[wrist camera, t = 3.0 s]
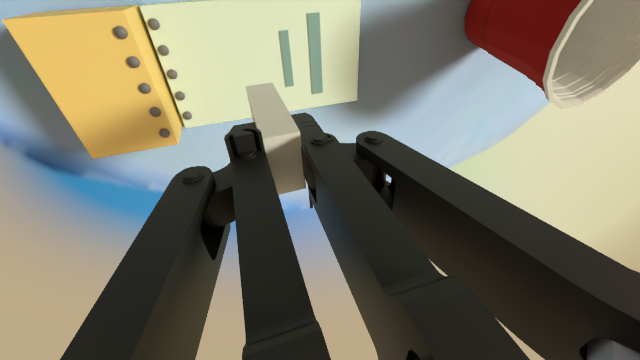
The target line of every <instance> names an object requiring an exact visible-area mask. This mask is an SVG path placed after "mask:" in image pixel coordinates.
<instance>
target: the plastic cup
mask: <svg viewBox="0 0 640 360" xmlns="http://www.w3.org/2000/svg"><path fill="white" fill-rule="evenodd" d="M465 32H466V34H467V36H468V39H469V40H471V42H472V43H474V44H475V45H477V46H478V47H480V48H482V49H484V50H486V51H487V52H488V53H489V54H491V55H493V56H494V57H496V58H497V59H499V60H501V61H502V62H504V63H506V64H507V65H509V66H511V67H512V68H514V69H516V70H517V71H519V72H521V73H522V74H524V75H526V76H527V78H529V79H531V80H532V81H534V82H535V83H536V85H537V86H539V87H540V88H542V90H543V91H544V93H545V96H546V98H547V99H548V100H549V101H550V102H551V103H553V104H555V105H556V106H558V107H559V108H568V107H574V106H580V105H582V104H584V103H586V102H588V101H590V100H592V99H594V98H595V97H597V96H599V95H601V94H603V93H604V92H605V91H607V90H608V89H609V88H611V87H612V86H613V85H614V84H615V83H617V82H618V81H619V80H621V79H622V78H624V77H625V76H626V75H627V74H629V72H630V71H631V70H632V69H633V68H634V67H635V66H636V65H637V64H638V63H639V62H640V0H472V1H471V3H470V5H469V7H468V11H467V14H466V17H465Z"/></svg>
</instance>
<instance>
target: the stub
mask: <svg viewBox="0 0 640 360" xmlns="http://www.w3.org/2000/svg"><path fill="white" fill-rule="evenodd" d="M2 21H3V22H4V24H5V25H6V27H7V29H8V30H9V32H10V33H11V35H12V36H13V38H14V39H15V41H16V42H17V44H18V45H19V47H20V48H21V50H22V51H23V53H24V55H25V56H26V58H27V59H28V61H29V62H30V64H31V65H32V67H33V68H34V70H35V71H36V73H37V74H38V76H39V77H40V79H41V81H42V82H43V84H44V85H45V87H46V88H47V90H48V91H49V93H50V94H51V96H52V97H53V99H54V100H55V102H56V103H57V105H58V107H59V108H60V110H61V111H62V113H63V114H64V116H65V117H66V119H67V120H68V122H69V123H70V125H71V126H72V128H73V129H74V131H75V132H76V134H77V136H78V137H79V139H80V140H81V142H82V143H83V145H84V146H85V148H86V149H87V151H88V152H89V154H90V155H91V157H92V158H93V159H94V158H100V157H106V156H112V155H117V154H123V153H129V152H135V151H141V150H146V149H152V148H158V147H164V146H170V145H175V144H178V143H179V139H180V135H181V130H182V126H183V121H182V118H181V116H180V113H179V111H178V108H177V105H176V103H175V100H174V97H173V95H172V92H171V89H170V87H169V84H168V82H167V79H166V76H165V74H164V71H163V68H162V66H161V63H160V61H159V58H158V55H157V53H156V50H155V47H154V45H153V42H152V39H151V37H150V34H149V32H148V29H147V26H146V24H145V21H144V18H143V16H142V13H141V10H140V8H139V5H129V6H115V7H102V8H89V9H75V10H62V11H48V12H37V13H32V14H28V15H23V16H18V17H13V18H8V19H3V20H2Z"/></svg>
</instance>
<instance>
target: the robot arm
mask: <svg viewBox="0 0 640 360" xmlns="http://www.w3.org/2000/svg"><path fill="white" fill-rule="evenodd" d="M245 87H246V91H247V96H248V101H249V105H250V110H251V115H252V119H253V122H252V123H247V124H241V125H235V126H233V127H232V129H231V130H230V132H229V133H228V134H227V135H225V138H224V140H225V143H226V147H227V150H228V153H229V157H230V163H229V164H228V165H227V166H226V167H224V168H222V169H220V170H218V171H216V172H213V173H212V171H211V170H210V169H209V168H207V167H204V166H196V167H190V168H188V169H184V170H183V171H181V172H179V173H178V174H176V175H175V176H174V178H173V179H172V180H171V182H170V184H169V185H168V187H167V188H166V190H165V192H164V193H163V195H162V196H161V198H160V200H159V201H158V203H157V205H156V206H155V208H154V209H153V211H152V213H151V214H150V216H149V217H148V219H147V221H146V222H145V224H144V225H143V227H142V229H141V230H140V232H139V233H138V235H137V237H136V238H135V240H134V242H133V243H132V245H131V246H130V248H129V250H128V251H127V253H126V255H125V256H124V258H123V259H122V261H121V263H120V264H119V266H118V267H117V269H116V271H115V272H114V274H113V276H112V277H111V279H110V280H109V282H108V283H107V285H106V287H105V288H104V290H103V291H102V293H101V295H100V296H99V298H98V300H97V301H96V303H95V304H94V306H93V308H92V309H91V311H90V312H89V314H88V316H87V317H86V319H85V321H84V322H83V324H82V326H81V327H80V329H79V330H78V332H77V333H76V335H75V337H74V338H73V340H72V341H71V343H70V345H69V346H68V348H67V349H66V351H65V353H64V354H63V356H62V358H61V359H60V360H195V357H196V354H197V351H198V347H199V343H200V339H201V336H202V332H203V328H204V325H205V321H206V317H207V313H208V310H209V306H210V302H211V298H212V295H213V291H214V287H215V284H216V280H217V276H218V273H219V269H220V265H221V262H222V258H223V254H224V250H225V247H226V243H227V239H228V235H229V232H230V223H231V222H233V221H235V220H236V231H237V242H238V254H239V265H240V275H241V287H242V298H243V309H244V320H245V332H246V344H245V346H244V348H243V353H242V360H331V359H330V356H329V352H328V349H327V346H326V343H325V340H324V336H323V333H322V330H321V328H320V325H319V323H318V321H317V320H316V318H315V315H314V312H313V309H312V306H311V303H310V299H309V296H308V293H307V289H306V286H305V283H304V279H303V276H302V273H301V269H300V266H299V263H298V260H297V256H296V252H295V249H294V246H293V243H292V239H291V236H290V233H289V229H288V226H287V222H286V219H285V216H284V212H283V209H282V206H281V202H280V199H279V196H278V195H279V194H283V193H287V192H291V191H296V190H300V189H304V188H306V182H307V184H308V190H309V200H310V208H313V205H314V208H315V210H316V212H317V214H318V217H319V219H320V221H321V223H322V226H323V228H324V230H325V232H326V235H327V237H328V240H329V242H330V244H331V247H332V249H333V251H334V254H335V256H336V258H337V260H338V263H339V265H340V267H341V270H342V272H343V274H344V277H345V279H346V281H347V283H348V285H349V288H350V290H351V293H352V295H353V297H354V300H355V302H356V304H357V306H358V309H359V311H360V313H361V316H362V318H363V320H364V323H365V325H366V327H367V330H368V332H369V334H370V336H371V338H372V341H373V343H374V346H375V348H376V351H377V355H378V359H379V360H530V359H529V358H528V357H527V356H526V355H525V353H524V352H523V351H522V350H521V349H520V347H519V346H518V345H517V344H516V343H515V341H514V340H513V339H512V338H511V337H510V335H509V334H508V333H507V332H506V331H505V329H504V328H503V327H502V326H501V324H500V323H499V322H498V321H497V320H496V319H498V320H499V321H500V322H501V323H502V324H503V325H504V326H505V327H507V328H508V329H509V330H510V331H511V332H512V333H514V334H515V335H516V336H517V337H518V338H519V339H520V340H522V341H523V342H524V343H525V344H527V345H528V346H529V347H530V348H531V349H533V350H534V351H535V352H536V353H537V354H539V355H540V356H541V357H543V358H544V359H545V360H640V273H639V272H636V271H633V270H631V269H629V268H627V267H625V266H624V265H621V264H620V263H618V262H616V261H614V260H613V259H611V258H609V257H607V256H605V255H604V254H602V253H600V252H598V251H596V250H595V249H593V248H591V247H589V246H587V245H586V244H584V243H582V242H580V241H578V240H576V239H575V238H573V237H571V236H569V235H567V234H566V233H564V232H562V231H560V230H558V229H556V228H555V227H553V226H551V225H549V224H547V223H546V222H544V221H542V220H540V219H538V218H537V217H535V216H533V215H531V214H529V213H528V212H526V211H524V210H522V209H520V208H518V207H517V206H515V205H513V204H511V203H509V202H508V201H506V200H504V199H502V198H500V197H499V196H497V195H495V194H493V193H491V192H489V191H488V190H486V189H484V188H482V187H481V186H479V185H477V184H475V183H473V182H471V181H470V180H468V179H466V178H464V177H462V176H461V175H459V174H457V173H455V172H453V171H451V170H450V169H448V168H446V167H444V166H442V165H441V164H439V163H437V162H435V161H433V160H432V159H430V158H428V157H426V156H424V155H423V154H421V153H419V152H417V151H415V150H414V149H412V148H410V147H408V146H406V145H404V144H403V143H401V142H399V141H397V140H395V139H394V138H392V137H390V136H388V135H386V134H384V133H381V132H376V131H367V132H363V133H361V134H359V135H358V136H357V137H356V143H339V141H338V140H337V139H336V137H334V136H333V135H331V134H328V133H324V132H323V131H322V129H321V128H320V126H319V125H318V124H317V122H316V121H315V119H314V118H313V117H312V116H311V115H309V114H307V113H300V114H294V115H290V113H289V111H288V109H287V108H286V106H285V104H284V102H283V100H282V99H281V97H280V95H279V93H278V92H277V90H276V88H275V86H274V85H273V83H265V84H258V85H251V86H245ZM386 174H387V175H389V176H390V177H391V178H392V180H391V183H389V182H388V181H386ZM305 179H306V182H305ZM429 260H430V261H432V262H433V263H434V264H435V265H436V266H437V267H438V268H440V269H441V270H442V271H443V272H444V273H445V274H446V275H448V276H443V275H441V274H440V273H439V272H438V271H437V270H436V268H435V267H434V266H433V264H432V263H431V262H430V261H429Z"/></svg>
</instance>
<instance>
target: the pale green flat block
mask: <svg viewBox="0 0 640 360" xmlns="http://www.w3.org/2000/svg"><path fill="white" fill-rule="evenodd" d="M139 7H140V9H141V12H142V14H143V17H144V20H145V22H146V25H147V28H148V30H149V33H150V36H151V38H152V41H153V44H154V46H155V49H156V51H157V54H158V57H159V59H160V62H161V65H162V67H163V70H164V73H165V75H166V78H167V81H168V83H169V86H170V88H171V91H172V94H173V96H174V99H175V102H176V104H177V107H178V110H179V112H180V115H181V117H182V120H183V123H184V125H185V128H189V127H196V126H202V125H208V124H214V123H220V122H226V121H233V120H239V119H245V118H251V117H252V115H251V110H250V105H249V101H248V96H247V91H246V87H245V86H251V85H258V84H265V83H273V85H274V86H275V88H276V90H277V92H278V93H279V95H280V97H281V99H282V100H283V102H284V104H285V106H286V108H287V109H288V111H294V110H300V109H306V108H313V107H319V106H325V105H331V104H337V103H343V102H350V101H356V100H357V89H358V62H359V35H360V8H361V0H192V1H179V2H165V3H152V4H143V5H140V6H139Z"/></svg>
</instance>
